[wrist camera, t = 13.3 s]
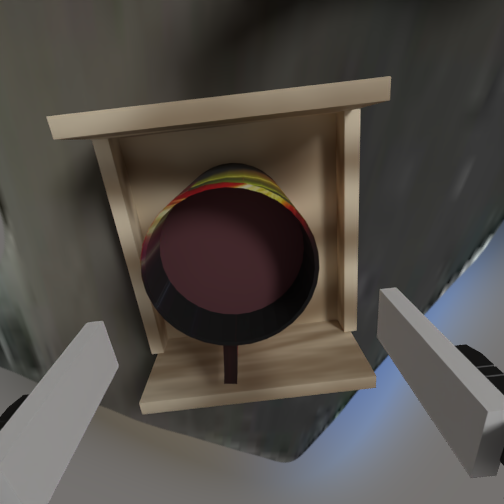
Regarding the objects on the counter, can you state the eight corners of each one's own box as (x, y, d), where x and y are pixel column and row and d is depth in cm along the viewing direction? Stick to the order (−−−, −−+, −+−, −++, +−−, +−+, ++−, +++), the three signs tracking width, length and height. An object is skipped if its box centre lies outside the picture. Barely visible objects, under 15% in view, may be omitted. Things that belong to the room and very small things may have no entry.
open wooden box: (104, 124, 25) (35, 117, 17) (347, 96, 25) (401, 74, 17) (161, 344, 33) (135, 415, 25) (346, 323, 33) (383, 386, 25)
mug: (231, 314, 31) (225, 413, 20) (161, 192, 26) (102, 232, 15) (318, 277, 30) (364, 361, 19) (261, 143, 25) (278, 147, 14)
